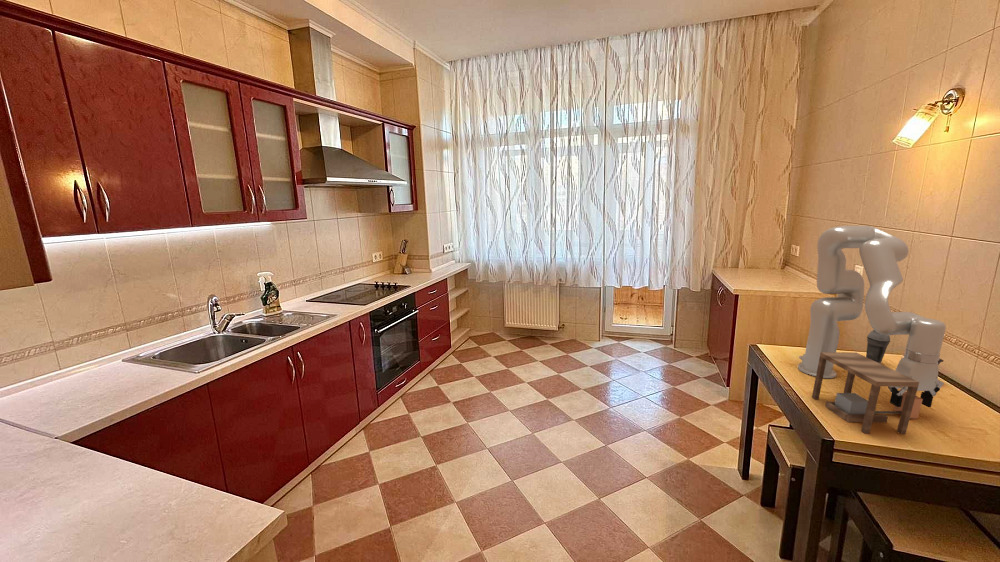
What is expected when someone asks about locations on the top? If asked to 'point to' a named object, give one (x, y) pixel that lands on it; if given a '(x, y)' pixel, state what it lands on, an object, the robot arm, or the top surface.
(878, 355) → the beverage cup
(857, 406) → the lopsided dumbbell
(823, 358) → the wooden side table
